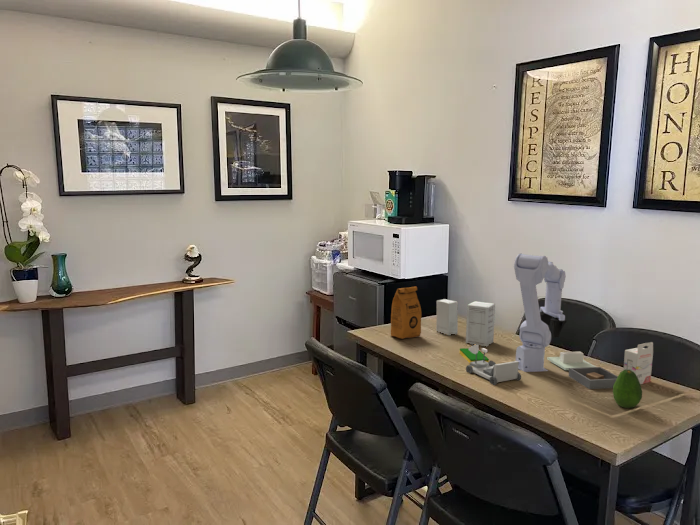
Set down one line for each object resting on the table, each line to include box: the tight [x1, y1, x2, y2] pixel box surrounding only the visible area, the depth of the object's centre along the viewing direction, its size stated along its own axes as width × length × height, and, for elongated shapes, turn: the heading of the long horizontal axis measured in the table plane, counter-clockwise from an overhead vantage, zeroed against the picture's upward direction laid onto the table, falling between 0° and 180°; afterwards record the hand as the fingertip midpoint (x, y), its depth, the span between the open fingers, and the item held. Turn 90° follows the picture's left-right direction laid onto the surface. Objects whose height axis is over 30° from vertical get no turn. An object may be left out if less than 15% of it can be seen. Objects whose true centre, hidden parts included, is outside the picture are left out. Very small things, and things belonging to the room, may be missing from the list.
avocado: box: [612, 369, 643, 409], centre depth 163 cm, size 8×8×12 cm
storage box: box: [568, 366, 618, 390], centre depth 184 cm, size 12×12×4 cm
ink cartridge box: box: [622, 341, 654, 385], centre depth 184 cm, size 9×5×15 cm, turn 117°
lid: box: [546, 351, 597, 371], centre depth 200 cm, size 12×12×5 cm
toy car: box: [465, 344, 522, 386], centre depth 190 cm, size 18×10×12 cm
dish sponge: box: [459, 347, 490, 364], centre depth 208 cm, size 7×14×2 cm, turn 6°
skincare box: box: [435, 298, 459, 336], centre depth 242 cm, size 8×6×15 cm
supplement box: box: [465, 300, 496, 348], centre depth 228 cm, size 10×9×17 cm
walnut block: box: [586, 372, 604, 380], centre depth 184 cm, size 4×4×2 cm
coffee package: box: [390, 286, 423, 339], centre depth 234 cm, size 10×12×22 cm
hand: (550, 334), depth 207 cm, fingers open, 7 cm apart
